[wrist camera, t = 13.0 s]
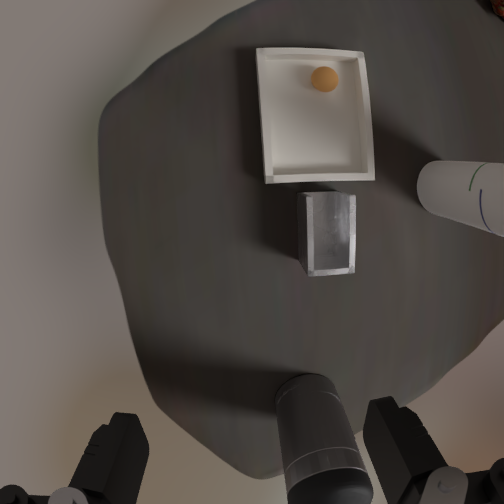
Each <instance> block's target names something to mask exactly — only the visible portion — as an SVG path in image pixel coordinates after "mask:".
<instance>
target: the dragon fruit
mask: <svg viewBox="0 0 504 504" xmlns="http://www.w3.org/2000/svg"><path fill="white" fill-rule="evenodd" d="M490 1H491V3H492V7H493V11H494V12H495V14H497V15H499V16H502V17H503V18H504V0H490Z"/></svg>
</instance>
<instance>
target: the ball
mask: <svg viewBox="0 0 504 504" xmlns="http://www.w3.org/2000/svg"><path fill="white" fill-rule="evenodd" d="M338 81H339V79H338V75H337V73H336V72H335V71H334V70H333V69H332V68H330V67H326V66H322V67H318V68H317V69H315V70H314V71H313V73H312V75H311V82H312V84H313V86H314V87H315V88H316V89H317V90H319V91H321V92H330V91H332V90H334V89H335V88H336V87H337V85H338Z"/></svg>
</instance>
